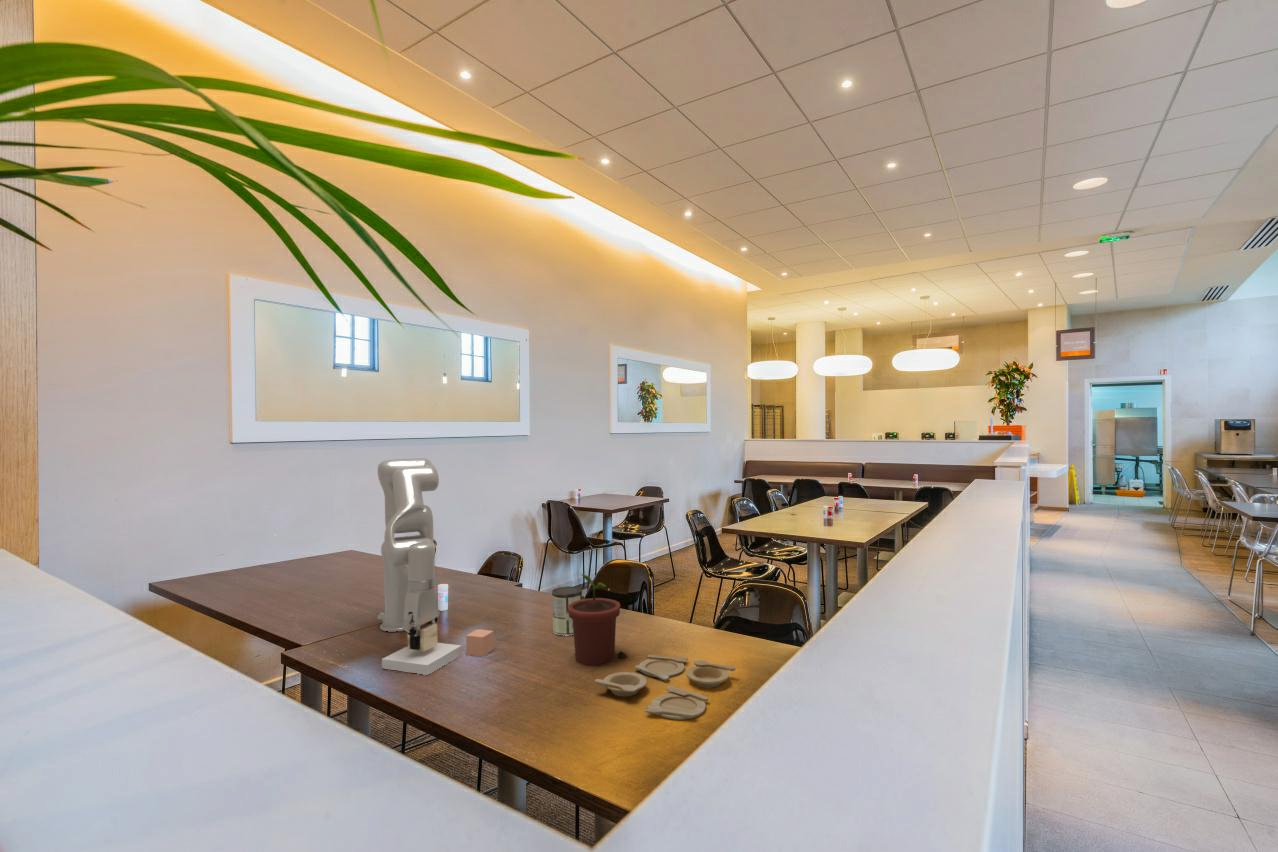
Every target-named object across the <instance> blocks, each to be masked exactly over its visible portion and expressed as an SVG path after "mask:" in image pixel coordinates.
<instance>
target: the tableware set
mask: <svg viewBox="0 0 1278 852" xmlns="http://www.w3.org/2000/svg"><path fill="white" fill-rule="evenodd" d="M646 656H647V659H645V660H643V661H641V662H640V663H639V664H638V665H635V666H634V669H635V670H636V671H639V672H640V673H642V674H644V675H645V676H649V677H653V678H658V679H660V680H663V681H666V682H667V681H669V679H670V678H672V677H675V676H678V675H680V674H682V673H683V672H684V671H685V669H686V668H685V664H684V663H687V661H688V660H689V658H688V657H682V656H677V657H676V656H675V657H673V656H672V657H669V656H664V655H663V656H662V655H655V654H648V655H646ZM693 664H694V665H693V666H692V667H689V668H688V669H687V670H686V673H685V675H686V678H687V679H689V681H692V682H694V684H695V685H696V686H698V687H700V688H705V689H706V688H707V689H713V688H717V687H719V686H721V683H724V682H726V681H727V680H728V679H729V677H730V673H729V671H730V672H732V671H735V670H736V666H733V665H726V664H720V663H719V664H717V663H711V662H708V661H707V660H703V659H698V660H697V659H696V660H693ZM640 673H636V672H627V671H620V672H615V673H611V674H608V675H606V676H605V677H604V678H603V679H600V678H596V679H594V683H595V684H596V685H600V686H603V687H605V688H606V689H608V690H610V691H611V693H612V694H613V695H614V694H615V695H614V696H616V695H617V697H620V696H629V697H632V696H631V695H633V696H635V695H637V693H638V692H639V690H642V689H643V688H645V686H646V685H647V680H648V679H647V678H646V677H645V676H644V675H642V674H640ZM666 691H668V692H669V693H665V694H661V695H658V696H657V697H655V698H653V700H652V701H651V702H650V704H649V705H647V707H646V709H645V710H644V712H645V713H648V714H651V715H652V714H653V715H657V716H660V717H662V718H664V719H669V720H670V719H671V720H678V721H679V720H681V721H682V720H690V719H694V718H697V716H698V717H700V716H701V715H703V714H704V713H705V712H706V708H707V706H706V702H708V701H709V697H708V696H705V695H702V694H699V693H696V692H692V691H690V690H689V691H688V690H686V689H683V688H679V687H676V686H673V685H669V686H667V687H666ZM634 694H635V695H634ZM699 715H700V716H699Z"/></svg>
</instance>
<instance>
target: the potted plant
mask: <svg viewBox="0 0 1278 852" xmlns="http://www.w3.org/2000/svg"><path fill="white" fill-rule="evenodd" d="M581 576H582V577H583V578H584V579H585V580H586V581H587V582H588V583H589V584H591V585H592V590H593V593H592V594H593V597H592V598H590V597H589V598H584V599H583V598H582V600H578V601H575V602H572V603H570V604H569V605H568V612H569V617H570V618H571V619H573V631H574V636H573V641H574V642H573V643H574V654H575V655H574V656H575V661H576V662H577V663H578V664H579V663H580V665H582V664H583V665H584V666H589V667H596V666H604V665H607V664H610V663H612V662H613V661H614V659H615V650H616V649H615V648H616V647H615V646H616V623H617V618H618V617H619V616H620V614H621V603H620V602H619V601H618V600H615V599H612V598H604V597H596V588H598V589H599V588H606V587H607V586H606V585H605V584H604V583H602V582H598V583H597V586H595V584H594V582H592V578H591V577H590V576H588V574H582V573H581ZM616 656H617V657H616V659H617V660H626V659H627V658H628V654H627V653H625V652H623V651H622V650H620V651H619V652H618V653H617V654H616Z"/></svg>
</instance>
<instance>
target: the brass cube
mask: <svg viewBox="0 0 1278 852" xmlns="http://www.w3.org/2000/svg"><path fill="white" fill-rule="evenodd" d="M414 630H416V627H414ZM406 633H407V632H406ZM406 636H407V646H408V649H410V636H409V635H408V633H407V635H406ZM418 636H420V649H419V650H418V651H426V650H428V649H430V648H432V647H433V646H435V645H437V644H438V643H439V641H438V623H436V624H428V623H425V624H423V625H421V626H420V630H419V634H418ZM410 650H415V649H410Z"/></svg>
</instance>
